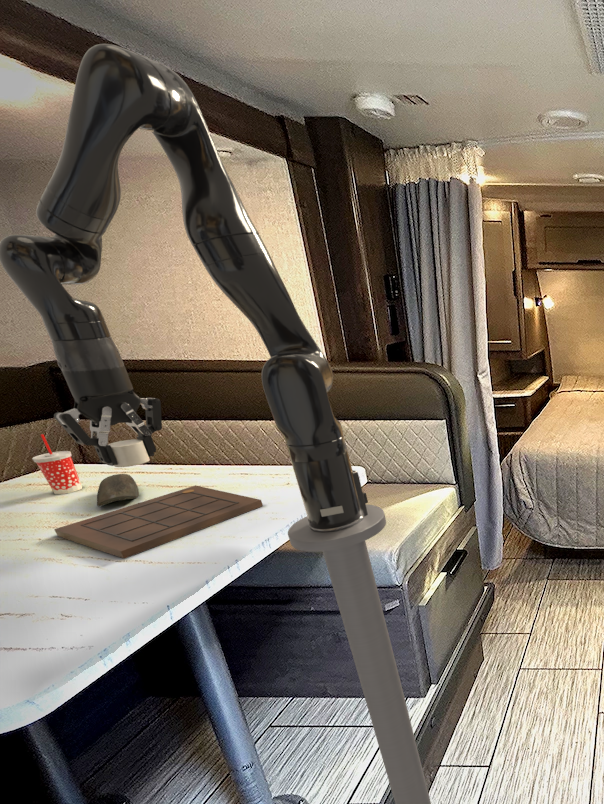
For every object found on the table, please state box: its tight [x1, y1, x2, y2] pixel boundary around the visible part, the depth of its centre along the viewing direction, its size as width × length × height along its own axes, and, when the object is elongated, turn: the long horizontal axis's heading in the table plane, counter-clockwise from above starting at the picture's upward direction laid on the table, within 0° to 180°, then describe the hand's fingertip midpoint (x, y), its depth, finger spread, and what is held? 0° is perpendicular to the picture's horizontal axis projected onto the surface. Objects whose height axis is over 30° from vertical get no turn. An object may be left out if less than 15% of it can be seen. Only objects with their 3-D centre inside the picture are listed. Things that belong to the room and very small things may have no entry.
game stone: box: [107, 438, 151, 468], centre depth 91 cm, size 5×5×4 cm
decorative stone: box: [96, 473, 140, 507], centre depth 115 cm, size 17×6×4 cm, turn 42°
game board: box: [54, 485, 264, 560], centre depth 103 cm, size 24×24×2 cm
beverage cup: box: [31, 433, 83, 495], centre depth 118 cm, size 6×6×14 cm
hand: (131, 459), depth 91 cm, fingers closed on game stone, 4 cm apart
